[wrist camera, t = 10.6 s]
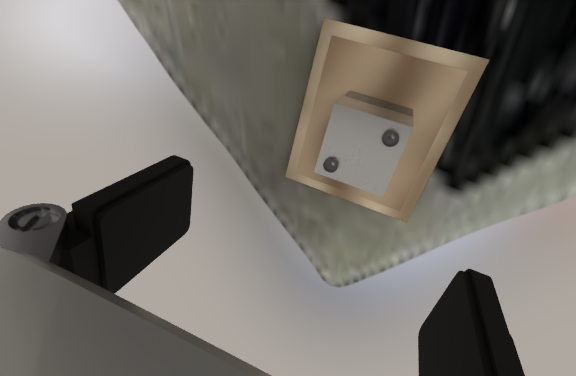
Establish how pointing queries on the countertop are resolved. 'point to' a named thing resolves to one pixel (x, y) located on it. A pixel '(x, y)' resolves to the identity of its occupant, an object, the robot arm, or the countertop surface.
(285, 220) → the countertop surface
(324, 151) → the block
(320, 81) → the beech stand
